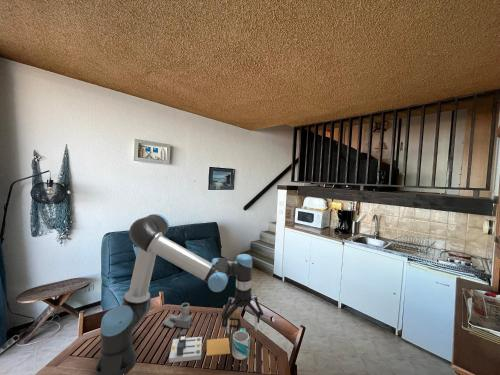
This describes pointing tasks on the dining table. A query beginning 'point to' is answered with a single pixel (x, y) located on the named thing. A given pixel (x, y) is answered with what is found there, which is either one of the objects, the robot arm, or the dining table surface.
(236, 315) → the ammunition clip
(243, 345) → the mug
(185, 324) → the camera
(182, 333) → the breaker
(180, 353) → the block
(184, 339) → the breaker
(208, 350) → the pad
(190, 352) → the breaker panel
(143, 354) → the dining table surface
